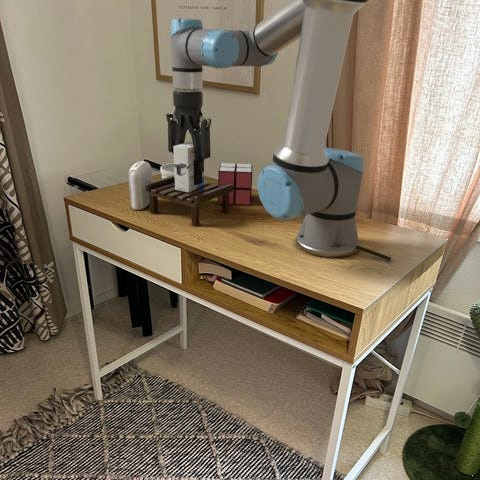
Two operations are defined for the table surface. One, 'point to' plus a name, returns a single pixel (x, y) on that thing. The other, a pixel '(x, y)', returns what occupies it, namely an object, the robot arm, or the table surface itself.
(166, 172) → the ramekin
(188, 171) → the ink box
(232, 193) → the puzzle cube
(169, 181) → the rack
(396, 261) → the table surface
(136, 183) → the photo printer
